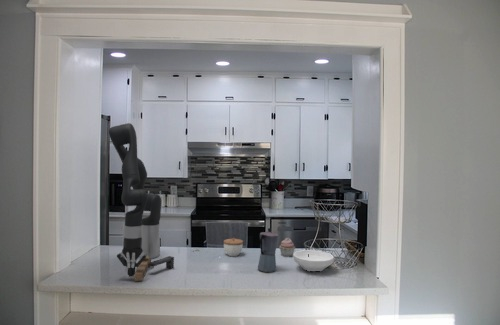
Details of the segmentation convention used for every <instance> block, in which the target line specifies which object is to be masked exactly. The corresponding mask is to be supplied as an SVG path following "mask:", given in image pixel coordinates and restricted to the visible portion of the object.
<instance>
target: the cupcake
mask: <svg viewBox="0 0 500 325" xmlns="http://www.w3.org/2000/svg"><path fill="white" fill-rule="evenodd" d="M278 248H279V251H280V253H281V256H282V255H283V257H286V256H290V257H293V253H294V252H295V249H296V246H295V245H294V242H293V241H292V240H291V238H290V237H286V238H284V240H282V241H281V243H280V245H279V246H278Z"/></svg>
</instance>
